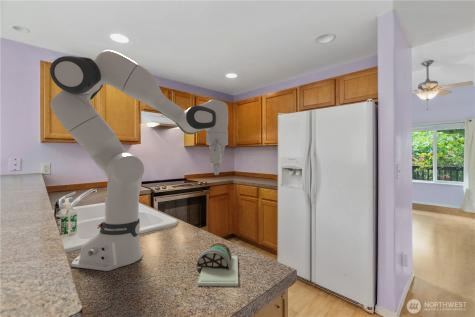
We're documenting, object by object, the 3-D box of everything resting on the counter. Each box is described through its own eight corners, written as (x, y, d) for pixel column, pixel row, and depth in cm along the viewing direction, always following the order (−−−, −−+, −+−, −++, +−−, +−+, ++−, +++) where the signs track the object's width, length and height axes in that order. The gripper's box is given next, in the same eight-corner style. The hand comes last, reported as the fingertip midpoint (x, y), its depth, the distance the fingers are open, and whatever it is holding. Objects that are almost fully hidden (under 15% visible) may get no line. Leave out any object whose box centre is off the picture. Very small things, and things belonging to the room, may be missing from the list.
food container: (235, 241, 84) (231, 252, 74) (235, 257, 84) (230, 270, 74) (203, 238, 85) (195, 249, 75) (203, 255, 85) (194, 267, 75)
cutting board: (197, 285, 66) (197, 282, 66) (205, 257, 85) (206, 254, 85) (238, 286, 66) (238, 283, 66) (237, 257, 85) (237, 255, 85)
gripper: (223, 138, 81) (223, 176, 81) (225, 142, 101) (225, 173, 101) (206, 138, 81) (205, 176, 81) (211, 142, 101) (211, 172, 101)
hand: (216, 174), depth 91 cm, fingers closed
